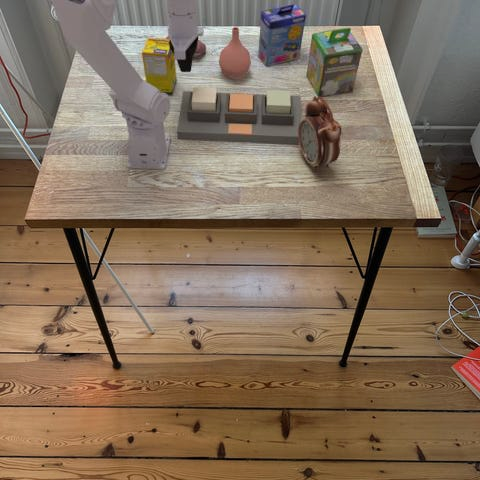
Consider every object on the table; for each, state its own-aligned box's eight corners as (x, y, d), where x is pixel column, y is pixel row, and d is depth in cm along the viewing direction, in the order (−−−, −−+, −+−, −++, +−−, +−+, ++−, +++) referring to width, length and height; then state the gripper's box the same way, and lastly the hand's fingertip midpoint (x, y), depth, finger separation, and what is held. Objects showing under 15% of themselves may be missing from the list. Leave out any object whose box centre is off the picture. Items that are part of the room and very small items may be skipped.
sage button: (289, 117, 110) (290, 105, 107) (266, 116, 110) (267, 104, 107) (288, 102, 113) (289, 91, 110) (266, 101, 113) (267, 90, 110)
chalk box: (339, 70, 127) (351, 13, 115) (353, 92, 121) (367, 35, 110) (304, 75, 125) (313, 17, 113) (317, 97, 120) (327, 40, 108)
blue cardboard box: (266, 68, 126) (270, 12, 115) (256, 56, 129) (260, 0, 118) (301, 59, 129) (308, 3, 118) (290, 47, 132) (297, -8, 121)
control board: (301, 144, 110) (304, 127, 106) (177, 138, 110) (175, 122, 106) (299, 103, 118) (301, 86, 115) (183, 98, 118) (182, 81, 115)
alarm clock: (293, 146, 109) (302, 88, 97) (313, 141, 111) (324, 83, 99) (315, 181, 103) (327, 123, 91) (336, 175, 104) (351, 117, 93)
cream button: (215, 114, 110) (215, 102, 107) (192, 113, 110) (191, 101, 107) (216, 99, 113) (216, 88, 110) (194, 98, 113) (193, 87, 110)
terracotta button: (251, 120, 111) (252, 109, 108) (229, 119, 111) (229, 108, 108) (252, 105, 114) (253, 94, 112) (230, 104, 114) (230, 93, 111)
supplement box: (176, 80, 122) (173, 38, 114) (172, 95, 119) (168, 54, 110) (152, 78, 123) (147, 36, 114) (147, 93, 119) (141, 51, 110)
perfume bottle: (230, 88, 121) (231, 42, 112) (212, 72, 125) (211, 26, 115) (256, 77, 124) (259, 31, 114) (238, 61, 128) (239, 16, 118)
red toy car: (167, 56, 131) (160, 41, 124) (172, 41, 132) (165, 24, 125) (203, 64, 129) (198, 48, 123) (208, 48, 130) (203, 31, 123)
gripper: (199, 29, 92) (202, 92, 103) (205, -10, 101) (207, 51, 112) (160, 28, 92) (167, 90, 103) (170, -12, 101) (175, 49, 112)
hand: (185, 70), depth 108 cm, fingers closed
